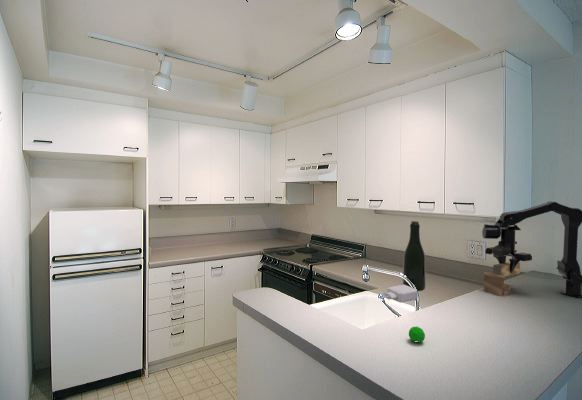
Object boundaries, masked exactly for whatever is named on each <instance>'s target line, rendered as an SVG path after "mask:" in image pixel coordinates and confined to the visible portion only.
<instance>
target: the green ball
mask: <svg viewBox="0 0 582 400" xmlns="http://www.w3.org/2000/svg"><path fill="white" fill-rule="evenodd" d="M408 337H409V339H410V340H411V339H412V340H414V341H422V342H424V340H425V338H426V333H425V332H424V329H422V328H421V327H420V326H413V327H411V328H410V329H409V331H408ZM412 340H411V341H412ZM414 341H413V342H414Z"/></svg>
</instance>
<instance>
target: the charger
mask: <svg viewBox="0 0 582 400" xmlns="http://www.w3.org/2000/svg"><path fill="white" fill-rule="evenodd" d="M386 290H387V292H384V293H383V295H381V296H382V298H383V297H384V298H385V299H387V300H389V301H390V300H394V301H397V302H398V303H405V302H411V301H415V300H417V299H418V291H417V290H416V289H414V288H412V287H409V286H406V285H403V284H400V285H393V286H389V287H387V289H386Z"/></svg>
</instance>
